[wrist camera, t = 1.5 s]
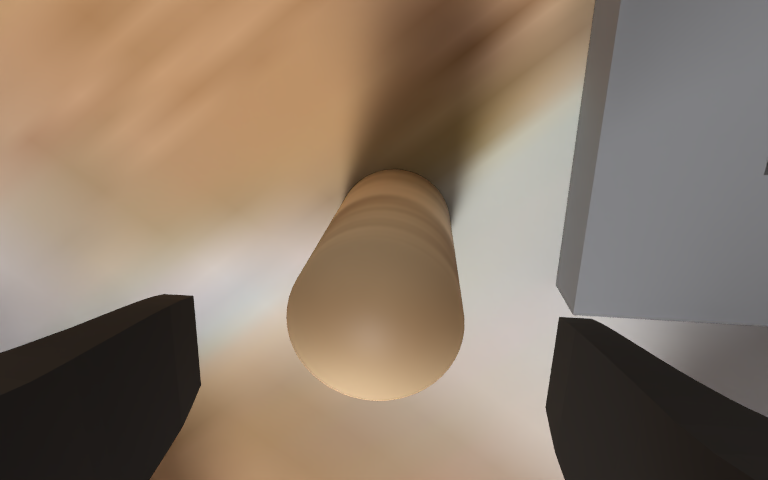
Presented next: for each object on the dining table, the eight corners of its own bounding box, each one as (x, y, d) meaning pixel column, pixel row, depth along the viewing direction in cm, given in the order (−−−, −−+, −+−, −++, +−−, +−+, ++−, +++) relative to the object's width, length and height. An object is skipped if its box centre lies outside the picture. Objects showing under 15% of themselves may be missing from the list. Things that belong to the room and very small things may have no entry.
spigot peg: (446, 278, 20) (457, 406, 13) (339, 272, 21) (288, 394, 13) (454, 171, 19) (471, 244, 12) (340, 166, 19) (284, 234, 12)
